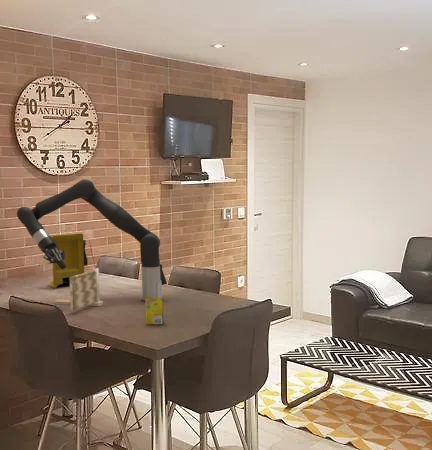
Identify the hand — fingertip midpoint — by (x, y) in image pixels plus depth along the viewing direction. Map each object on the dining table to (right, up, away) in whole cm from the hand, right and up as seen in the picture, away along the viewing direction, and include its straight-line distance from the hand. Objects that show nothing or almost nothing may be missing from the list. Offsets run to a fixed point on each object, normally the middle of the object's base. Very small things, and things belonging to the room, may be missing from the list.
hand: (64, 268), depth 280 cm
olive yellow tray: (-13, -14, +59) cm, 62 cm away
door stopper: (+38, -14, +60) cm, 72 cm away
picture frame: (+4, -19, +13) cm, 23 cm away
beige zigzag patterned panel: (+9, -18, 0) cm, 20 cm away
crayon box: (+45, -22, -25) cm, 56 cm away
